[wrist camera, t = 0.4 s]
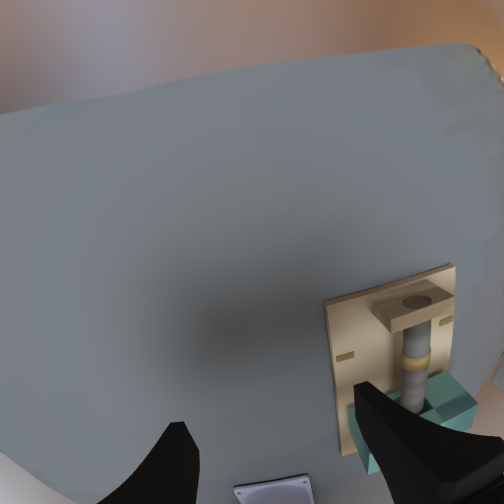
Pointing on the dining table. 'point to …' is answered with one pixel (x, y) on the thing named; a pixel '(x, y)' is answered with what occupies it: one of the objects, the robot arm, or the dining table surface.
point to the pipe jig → (390, 340)
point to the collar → (427, 412)
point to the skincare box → (499, 375)
